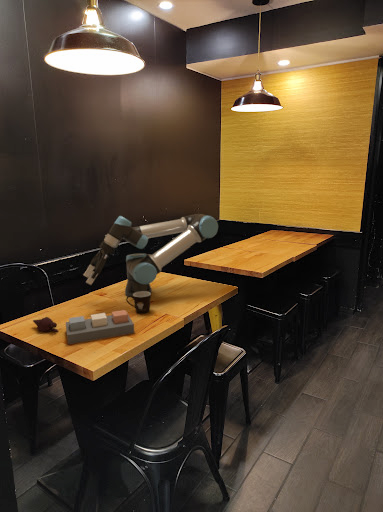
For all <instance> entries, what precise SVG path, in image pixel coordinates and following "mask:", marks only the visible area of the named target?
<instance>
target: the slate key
mask: <svg viewBox="0 0 383 512" xmlns="http://www.w3.org/2000/svg"><path fill="white" fill-rule="evenodd" d="M85 319H86V318H85V316H84V315H81V316H74V317H69V318H68V322H69V323H70V331H73V330H80V329H86V327H85Z"/></svg>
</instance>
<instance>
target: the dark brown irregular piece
mask: <svg viewBox="0 0 383 512" xmlns="http://www.w3.org/2000/svg"><path fill="white" fill-rule="evenodd" d="M32 322H33V323H34V324H35V325H36V326H37V327H36V329H37V331H38V332H39V333H40V332H42V333H49V332H53V333H55V334H57V333H59V330H58V329H57V323H56V322H54V320H53V319H52V318H50V317H48V316H45V317H43V318H41V319H40V318H39V319H34V320H32Z"/></svg>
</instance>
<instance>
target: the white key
mask: <svg viewBox="0 0 383 512" xmlns="http://www.w3.org/2000/svg"><path fill="white" fill-rule="evenodd" d="M106 316H107V315H106V312H102V313H101V312H100V313H94V314H90V318H91V324H92V327H98V326H104V325H107V317H106Z"/></svg>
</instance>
